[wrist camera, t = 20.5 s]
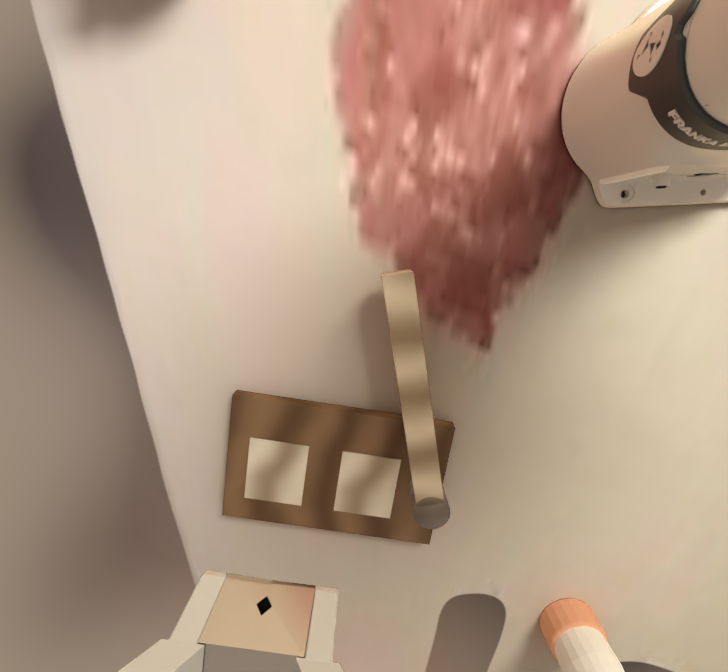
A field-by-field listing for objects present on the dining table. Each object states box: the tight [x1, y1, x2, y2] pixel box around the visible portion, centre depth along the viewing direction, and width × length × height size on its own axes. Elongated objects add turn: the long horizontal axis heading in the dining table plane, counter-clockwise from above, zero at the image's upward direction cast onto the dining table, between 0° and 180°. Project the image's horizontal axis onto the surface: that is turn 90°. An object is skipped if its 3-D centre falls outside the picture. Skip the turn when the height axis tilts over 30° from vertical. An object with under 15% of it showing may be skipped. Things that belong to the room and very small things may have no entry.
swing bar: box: [381, 269, 450, 529], centre depth 43 cm, size 28×4×4 cm, turn 9°
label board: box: [223, 390, 455, 544], centre depth 48 cm, size 26×16×2 cm, turn 81°
